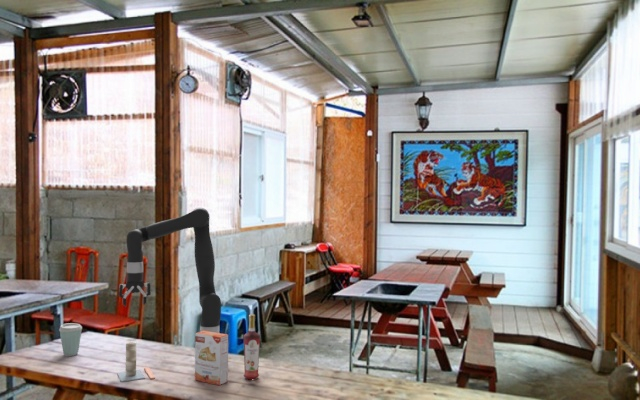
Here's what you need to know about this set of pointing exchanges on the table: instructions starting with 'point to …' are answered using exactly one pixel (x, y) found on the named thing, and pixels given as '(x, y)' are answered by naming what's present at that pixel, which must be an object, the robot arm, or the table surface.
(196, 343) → the cracker box
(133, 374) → the beige tall cylinder
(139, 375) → the mat
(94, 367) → the table surface
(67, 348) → the disposable coffee cup
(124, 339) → the table surface
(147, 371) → the orange long flat bar
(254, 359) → the liquor
